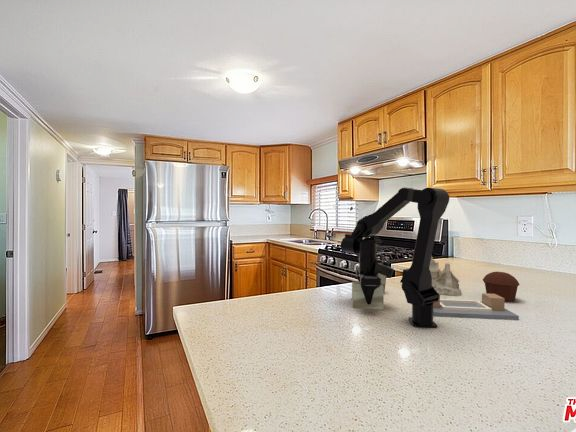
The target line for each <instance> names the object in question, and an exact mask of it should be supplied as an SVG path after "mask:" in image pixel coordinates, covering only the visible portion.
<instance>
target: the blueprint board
mask: <svg viewBox="0 0 576 432" xmlns="http://www.w3.org/2000/svg"><path fill="white" fill-rule="evenodd" d="M505 303H506V302H505V298H502V297H500V296H498V295H496V294H488V293H486V292H482V293H481V301H479V300H471V299H470V300H469V299H447V298H446V299H445V298H444V299H443V298H442V299H441V297H440V298H439V300H438V302H434V303H433V317H442V318H443V317H448V318H449V317H450V318H466V319H467V318H469V319H488V320H492V319H493V320H509V321H510V320H515V321H519V320H520V315H518V314H516V313H515V312H512V311H511V310H509V309H507V308H505Z"/></svg>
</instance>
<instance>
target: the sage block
mask: <svg viewBox="0 0 576 432" xmlns="http://www.w3.org/2000/svg"><path fill="white" fill-rule="evenodd" d="M384 295H385V293H384V286H383V284H382V283H381V285H380V287H378V288H376V289H375V290H374V294H373V298H372V302H371V304H367V302H366V299H365V296H364V293H363V291H362V288H361V285H360V282H359V281H351V305H352V308H353V309H365V310H366V309H369V310H371V309H372V310H384Z"/></svg>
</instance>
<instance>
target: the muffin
mask: <svg viewBox="0 0 576 432" xmlns="http://www.w3.org/2000/svg"><path fill="white" fill-rule="evenodd" d="M482 281H483V282H484V286H485V287H484V288H485V293H488V294H496V295H498V296H500V297H502V298H505V303H514V302H516V297H517V292H518V291H517V290H518V287H519V286H520V283H519V280H517V278H516V277H515V276H513V275H512V274H510V273H507V272H503V271H492V272H489V273H487V274H486V275H485V276H484V277H483V278H482Z"/></svg>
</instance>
